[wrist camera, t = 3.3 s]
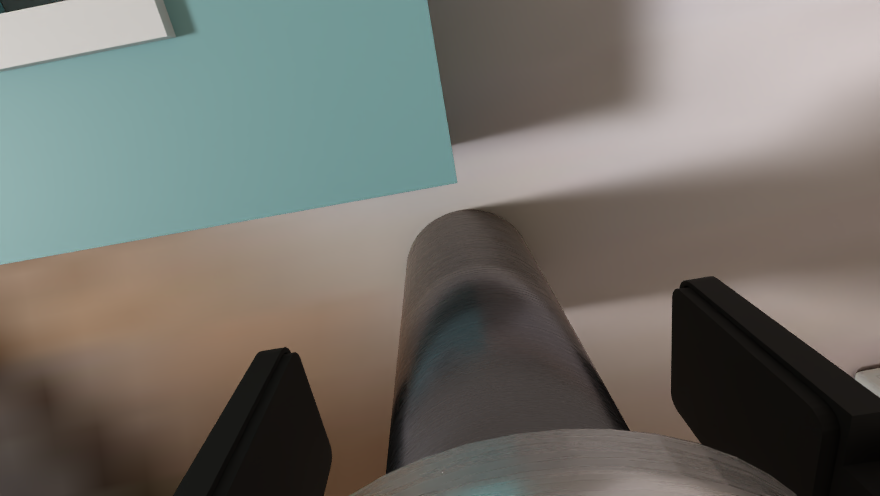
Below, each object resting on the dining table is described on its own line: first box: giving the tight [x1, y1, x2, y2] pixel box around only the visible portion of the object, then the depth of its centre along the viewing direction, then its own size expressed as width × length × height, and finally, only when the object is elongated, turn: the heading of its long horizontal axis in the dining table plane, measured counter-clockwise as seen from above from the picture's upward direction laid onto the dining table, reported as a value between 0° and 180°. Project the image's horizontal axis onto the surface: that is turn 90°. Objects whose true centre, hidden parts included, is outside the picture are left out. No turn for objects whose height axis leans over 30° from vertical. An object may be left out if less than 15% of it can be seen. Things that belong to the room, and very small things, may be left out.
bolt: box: [349, 210, 797, 496], centre depth 9 cm, size 6×6×12 cm
